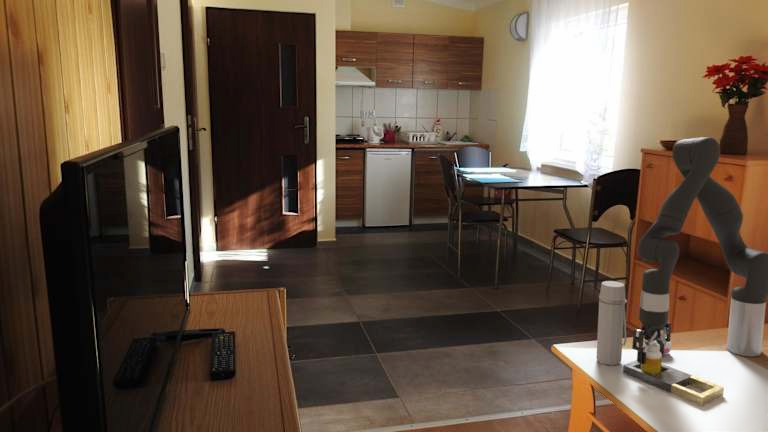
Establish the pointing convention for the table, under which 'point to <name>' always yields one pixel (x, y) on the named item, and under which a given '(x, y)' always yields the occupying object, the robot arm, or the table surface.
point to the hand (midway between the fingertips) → (650, 359)
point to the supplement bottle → (652, 359)
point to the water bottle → (611, 322)
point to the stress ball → (666, 347)
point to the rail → (676, 383)
